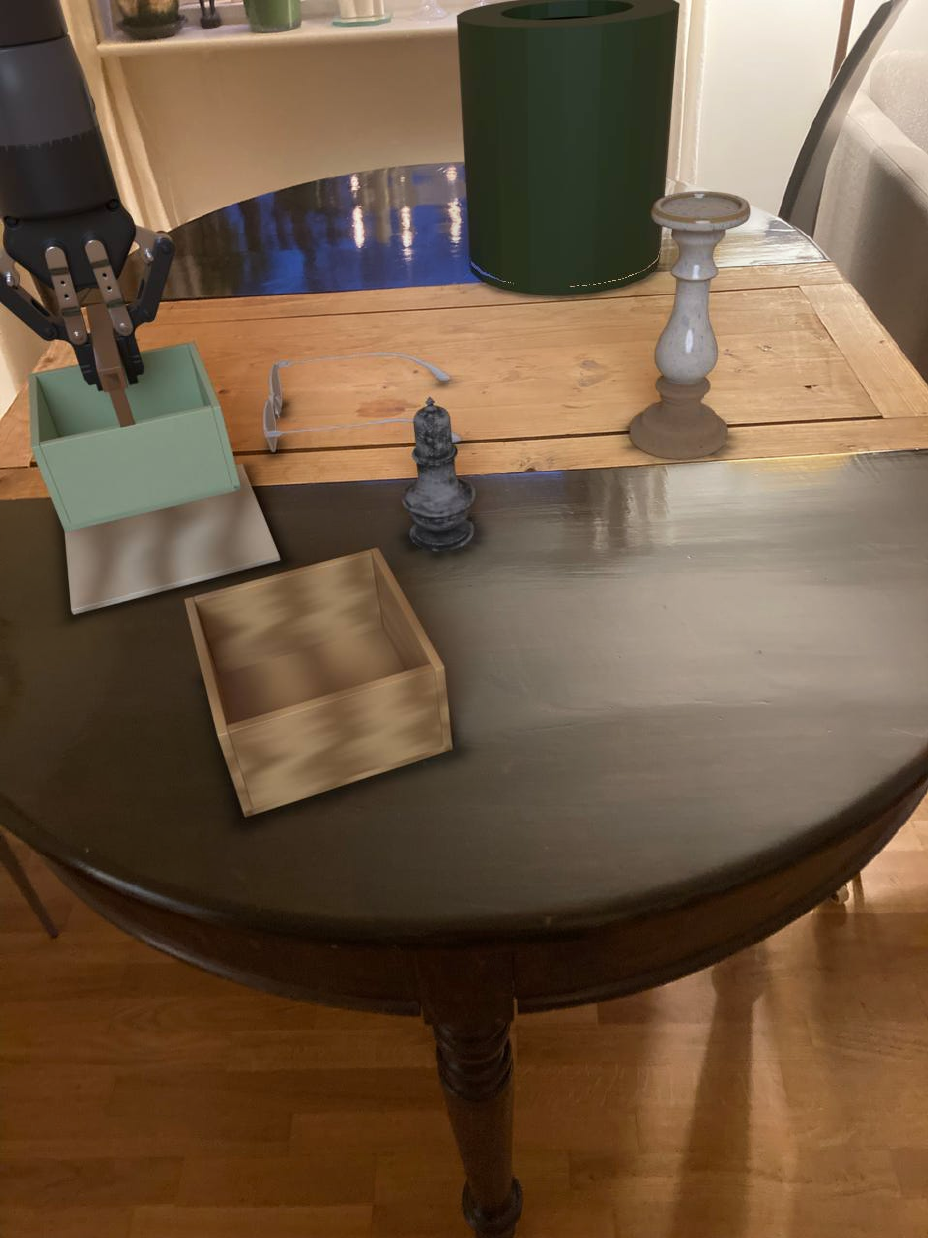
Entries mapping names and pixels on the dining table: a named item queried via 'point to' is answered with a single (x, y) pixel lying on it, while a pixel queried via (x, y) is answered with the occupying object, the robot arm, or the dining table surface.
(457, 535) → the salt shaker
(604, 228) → the flower pot
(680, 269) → the candle holder
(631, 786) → the dining table surface
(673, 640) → the dining table surface
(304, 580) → the brown wooden open box
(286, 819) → the dining table surface
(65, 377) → the top basket
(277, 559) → the placemat
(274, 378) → the eyeglasses
